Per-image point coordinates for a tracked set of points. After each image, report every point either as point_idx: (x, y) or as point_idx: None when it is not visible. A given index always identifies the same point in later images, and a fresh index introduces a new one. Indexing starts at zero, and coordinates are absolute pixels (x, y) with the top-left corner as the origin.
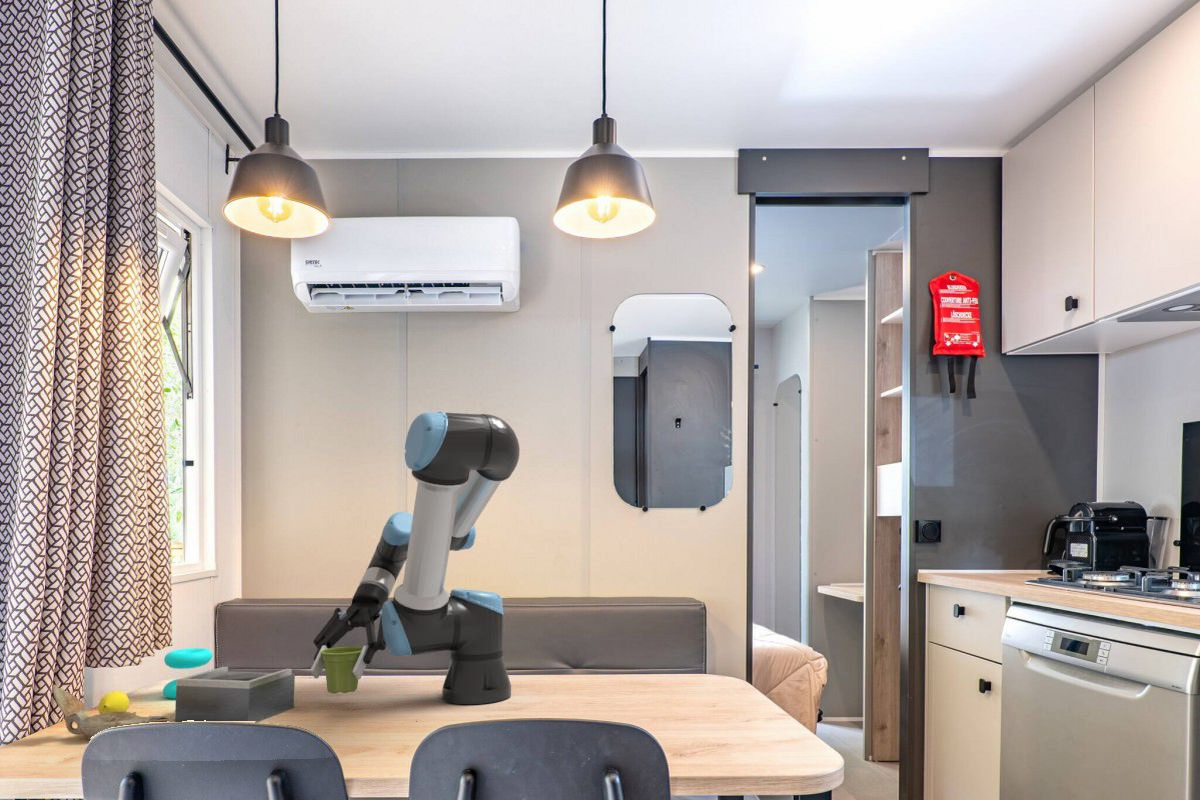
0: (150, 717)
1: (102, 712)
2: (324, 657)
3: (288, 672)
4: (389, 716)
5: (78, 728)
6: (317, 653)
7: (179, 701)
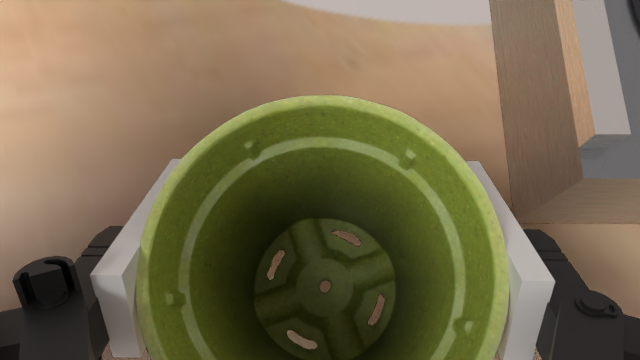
0: None
1: None
2: (402, 145)
3: (582, 112)
4: (48, 155)
5: None
6: (553, 261)
7: None
